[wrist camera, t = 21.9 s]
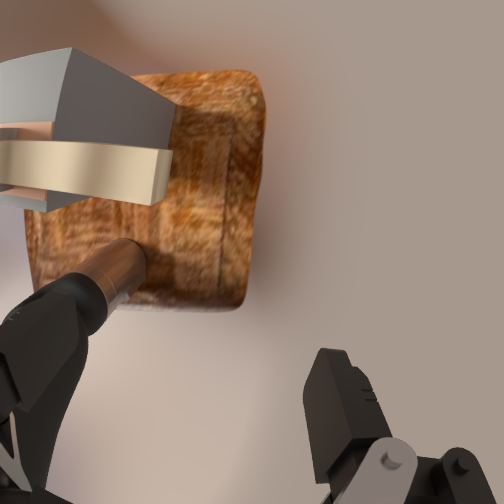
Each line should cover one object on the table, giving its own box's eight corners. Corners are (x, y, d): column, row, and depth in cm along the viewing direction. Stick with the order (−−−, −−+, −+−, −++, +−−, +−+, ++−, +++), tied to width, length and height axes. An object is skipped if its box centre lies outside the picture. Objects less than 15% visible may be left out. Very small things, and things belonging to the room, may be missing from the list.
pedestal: (176, 104, 45) (70, 46, 14) (163, 176, 49) (44, 213, 18) (125, 100, 44) (-5, 63, 14) (113, 169, 48) (-23, 200, 18)
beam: (176, 134, 17) (148, 128, 12) (164, 212, 18) (134, 233, 13) (-18, 130, 16) (-57, 133, 11) (-23, 183, 17) (-60, 194, 12)
